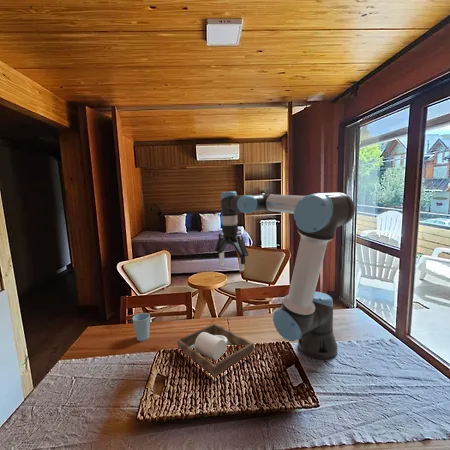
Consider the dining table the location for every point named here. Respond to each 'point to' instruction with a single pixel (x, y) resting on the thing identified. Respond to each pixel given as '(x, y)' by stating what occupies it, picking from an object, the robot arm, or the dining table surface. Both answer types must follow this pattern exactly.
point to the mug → (211, 345)
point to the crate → (233, 339)
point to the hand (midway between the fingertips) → (231, 268)
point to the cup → (142, 326)
